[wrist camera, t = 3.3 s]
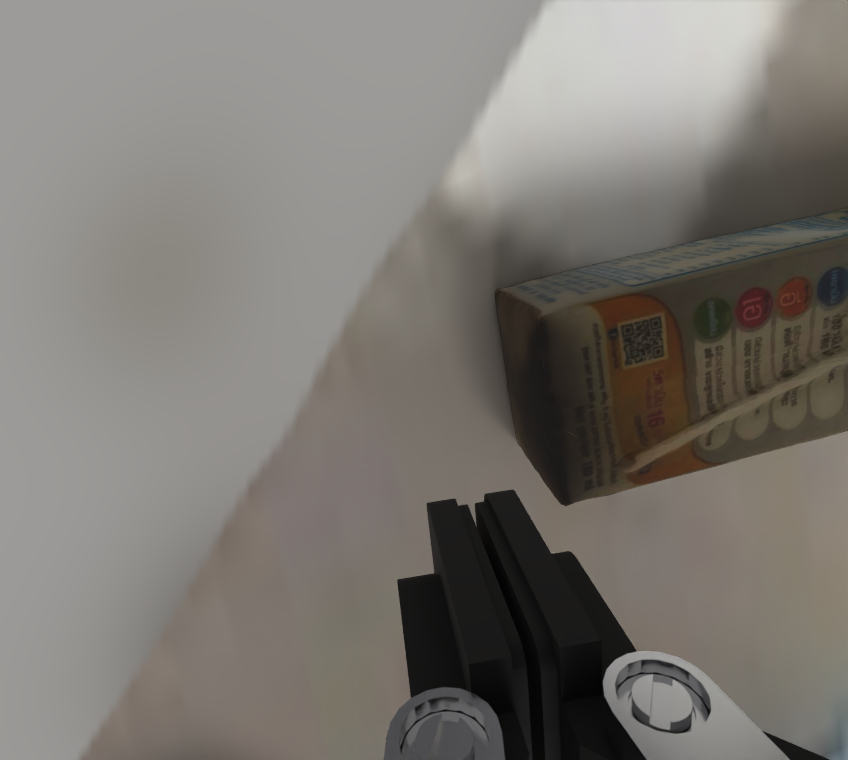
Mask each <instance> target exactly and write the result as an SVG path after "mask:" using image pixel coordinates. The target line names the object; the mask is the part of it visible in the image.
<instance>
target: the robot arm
mask: <svg viewBox="0 0 848 760" xmlns="http://www.w3.org/2000/svg"><path fill="white" fill-rule="evenodd" d="M427 512H428V521H429V530H430V538H431V547H432V555H433V564H434V574H428V575H422V576H416V577H410V578H404V579H398V580H397V581H398V590H399V599H400V607H401V616H402V625H403V633H404V642H405V650H406V659H407V667H408V676H409V684H410V693H411V699H410V700H409V701H407V702H406V703H405V704H404V705H403V706H402V707H401V708H399V710H398V711H397V713H396V715H395V716H394V718H393V719H392V721H391V722H390V726H389V730H388V733H387V737H386V745H385V755H384V760H829V759H827V758H825V757H822V756H820V755H818V754H815V753H813V752H810V751H808V750H806V749H803V748H801V747H799V746H796V745H794V744H792V743H789V742H787V741H785V740H782V739H780V738H778V737H775V736H773V735H771V734H768V733H766V732H764V731H761V730H760V729H759V728H758V727H757V726H756V725H755V723H754V722H753V721H752V720H751V719H750V718H749V717H748V716H747V715H746V714H745V713H744V712H743V711H742V710H741V709H740V708H739V707H738V706H737V705H736V704H735V703H734V702H733V701H732V700H731V699H730V698H729V697H728V696H727V695H726V694H725V693H724V692H723V691H722V690H721V689H720V688H719V687H718V686H717V685H716V684H715V683H714V682H713V681H712V680H711V679H710V678H709V677H708V676H707V675H706V674H705V673H703V672H702V671H701V670H700V669H698V668H697V667H696V666H695V665H693V664H691V663H689V662H687V661H685V660H683V659H681V658H679V657H677V656H673V655H670V654H666V653H663V652H655V651H638V652H637V651H636V649H635V648H634V646H633V645H632V643H631V642H630V640H629V638H628V637H627V635H626V634H625V632H624V631H623V629H622V628H621V626H620V625H619V623H618V621H617V620H616V618H615V617H614V615H613V614H612V612H611V611H610V609H609V608H608V606H607V605H606V603H605V601H604V600H603V598H602V597H601V595H600V594H599V592H598V591H597V589H596V588H595V586H594V584H593V583H592V581H591V580H590V578H589V577H588V575H587V574H586V572H585V571H584V569H583V567H582V566H581V564H580V563H579V561H578V560H577V558H576V557H575V556H574V554H573V553H572V552H569V551H567V552H561V553H555V554H551V552H550V551H549V549H548V547H547V546H546V544H545V542H544V540H543V539H542V537H541V535H540V534H539V532H538V530H537V528H536V527H535V525H534V523H533V522H532V520H531V518H530V516H529V515H528V513H527V511H526V509H525V508H524V506H523V504H522V503H521V501H520V499H519V497H518V496H517V494H516V492H515V491H514V490H507V491H501V492H494V493H488V494H485V496H484V502H479V503H476V504H475V514H476V525H477V527H476V525H475V522H474V520H473V517H472V515H471V512H470V509H469V507H468V505H467V504H466V505H460V506H458V505H457V502H456V499H449V500H442V501H436V502H430V503H427Z"/></svg>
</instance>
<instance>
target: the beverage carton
mask: <svg viewBox="0 0 848 760" xmlns="http://www.w3.org/2000/svg"><path fill="white" fill-rule="evenodd" d="M495 300H496V308H497V315H498V322H499V328H500V335H501V342H502V348H503V355H504V362H505V369H506V376H507V385H508V392H509V398H510V404H511V410H512V416H513V421H514V427H515V433H516V438H517V441H518V444H519V445H520V447H521V448H522V450H523V451H524V453H525V455H526V456H527V458H528V459H529V460H530V462H531V463H532V465H533V467H534V468H535V469H536V470H537V472H538V473H539V474H540V476H541V478H542V479H543V481H544V482H545V484H546V485H547V487H548V488H549V489H550V490H551V492H552V493H553V495H554V496H555V497H556V499H557V500H558V501H559V502H560V503H561V504H563V505H565V506H568V505H570V504H573V503H575V502H578V501H582V500H585V499H590V498H596V497H602V496H607V495H611V494H614V493H618V492H621V491H625V490H628V489H632V488H635V487H639V486H642V485H646V484H650V483H654V482H657V481H661V480H665V479H669V478H673V477H677V476H681V475H684V474H688V473H692V472H696V471H700V470H704V469H707V468H711V467H715V466H719V465H722V464H725V463H729V462H732V461H736V460H739V459H743V458H746V457H750V456H754V455H757V454H761V453H765V452H769V451H773V450H776V449H780V448H784V447H788V446H792V445H795V444H799V443H803V442H807V441H812V440H816V439H820V438H824V437H827V436H830V435H834V434H838V433H842V432H845V431H848V208H844V209H840V210H836V211H832V212H827V213H823V214H818V215H814V216H809V217H805V218H800V219H795V220H790V221H786V222H782V223H778V224H773V225H769V226H765V227H761V228H756V229H751V230H747V231H742V232H738V233H733V234H729V235H724V236H720V237H715V238H710V239H705V240H699V241H695V242H691V243H686V244H682V245H677V246H673V247H669V248H664V249H660V250H656V251H651V252H647V253H642V254H637V255H633V256H629V257H625V258H621V259H617V260H612V261H608V262H604V263H600V264H595V265H591V266H587V267H583V268H579V269H574V270H570V271H566V272H563V273H559V274H555V275H552V276H548V277H545V278H541V279H536V280H530V281H527V282H524V283H521V284H519V285H516V286H512V287H507V288H502V289H497V290H496V292H495Z"/></svg>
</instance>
